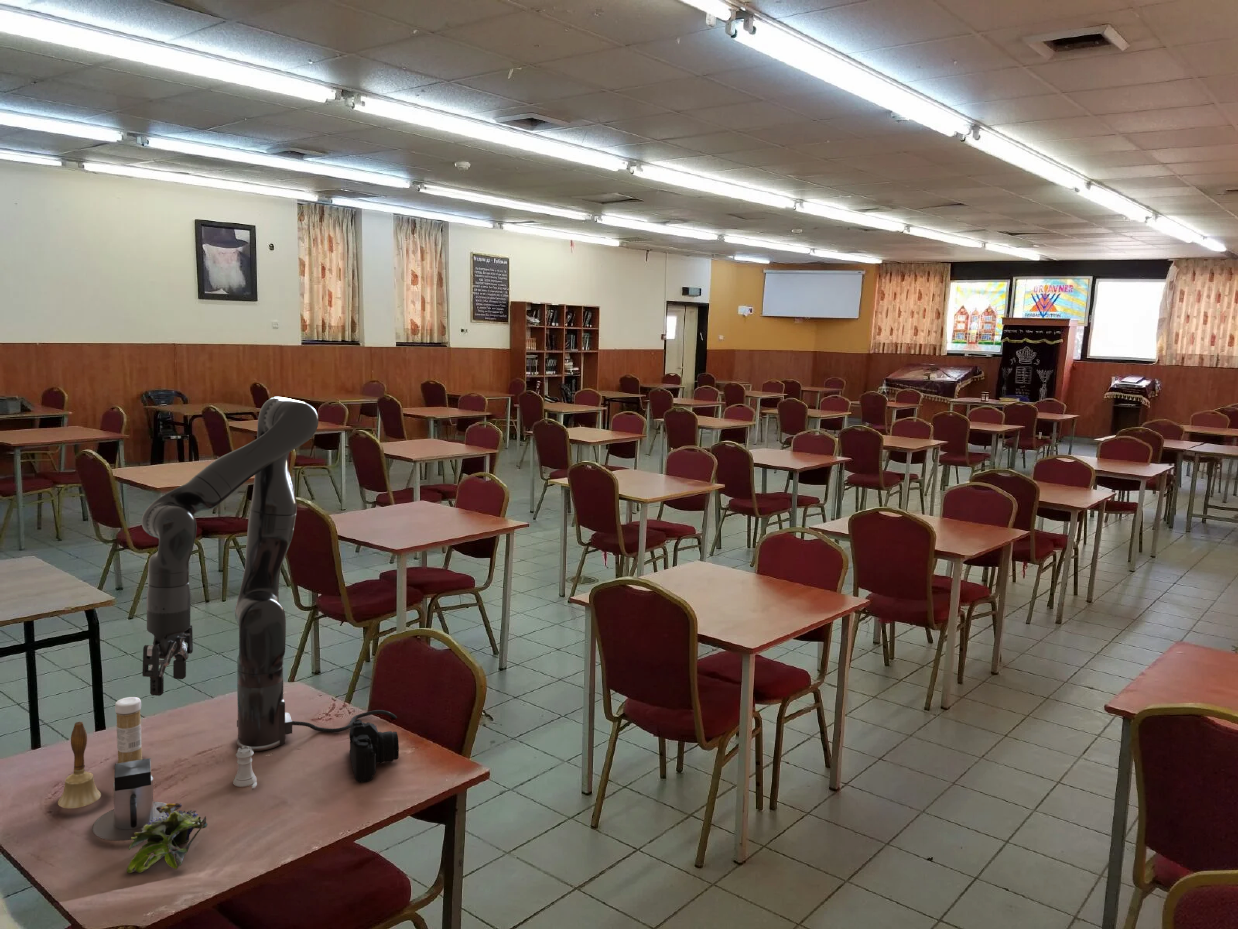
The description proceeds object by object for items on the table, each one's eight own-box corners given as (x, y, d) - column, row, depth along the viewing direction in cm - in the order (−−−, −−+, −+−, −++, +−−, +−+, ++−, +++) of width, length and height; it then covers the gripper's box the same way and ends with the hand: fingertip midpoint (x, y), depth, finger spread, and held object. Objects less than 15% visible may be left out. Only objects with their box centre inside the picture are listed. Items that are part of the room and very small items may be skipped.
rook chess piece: (262, 784, 175) (262, 746, 174) (245, 795, 171) (245, 756, 169) (244, 780, 176) (243, 742, 175) (227, 790, 172) (226, 751, 171)
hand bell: (90, 788, 170) (87, 710, 168) (114, 801, 166) (112, 721, 164) (44, 806, 163) (40, 725, 161) (68, 821, 159) (65, 737, 157)
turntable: (173, 801, 167) (173, 795, 167) (176, 837, 156) (176, 830, 156) (94, 816, 161) (93, 810, 161) (90, 854, 150) (90, 847, 149)
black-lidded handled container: (114, 815, 159) (113, 763, 158) (153, 808, 162) (152, 757, 161) (113, 840, 152) (111, 786, 150) (154, 833, 155) (152, 779, 153)
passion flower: (170, 879, 152) (207, 809, 157) (191, 898, 145) (229, 824, 149) (107, 862, 146) (148, 789, 151) (125, 881, 138) (167, 804, 143)
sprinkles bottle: (139, 756, 184) (138, 694, 182) (144, 764, 180) (143, 702, 178) (115, 761, 181) (113, 699, 179) (119, 770, 177) (117, 707, 175)
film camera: (402, 778, 180) (403, 736, 179) (353, 785, 176) (353, 742, 175) (392, 745, 194) (393, 706, 193) (346, 751, 190) (346, 711, 189)
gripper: (169, 618, 163) (168, 702, 165) (205, 597, 177) (205, 674, 179) (128, 615, 163) (128, 699, 165) (168, 594, 177) (168, 671, 179)
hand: (168, 686), depth 172 cm, fingers open, 8 cm apart
